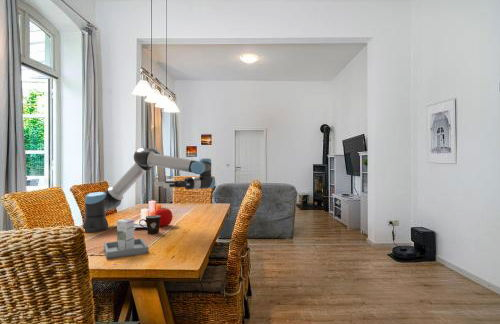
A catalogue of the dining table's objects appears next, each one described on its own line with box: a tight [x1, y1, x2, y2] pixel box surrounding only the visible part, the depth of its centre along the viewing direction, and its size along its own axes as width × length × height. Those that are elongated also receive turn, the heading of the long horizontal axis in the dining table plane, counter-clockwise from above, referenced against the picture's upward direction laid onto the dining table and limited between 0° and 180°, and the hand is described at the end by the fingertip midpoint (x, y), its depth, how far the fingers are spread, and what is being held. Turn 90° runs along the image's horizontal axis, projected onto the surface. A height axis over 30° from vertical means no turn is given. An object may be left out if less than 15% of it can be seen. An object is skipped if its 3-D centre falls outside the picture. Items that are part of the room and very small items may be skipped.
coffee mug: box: [138, 214, 160, 235], centre depth 184 cm, size 12×9×10 cm
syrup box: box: [116, 218, 135, 250], centre depth 148 cm, size 6×6×14 cm
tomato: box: [154, 207, 173, 228], centre depth 203 cm, size 12×12×13 cm
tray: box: [103, 237, 149, 260], centre depth 148 cm, size 18×18×3 cm
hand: (158, 184), depth 177 cm, fingers open, 13 cm apart
